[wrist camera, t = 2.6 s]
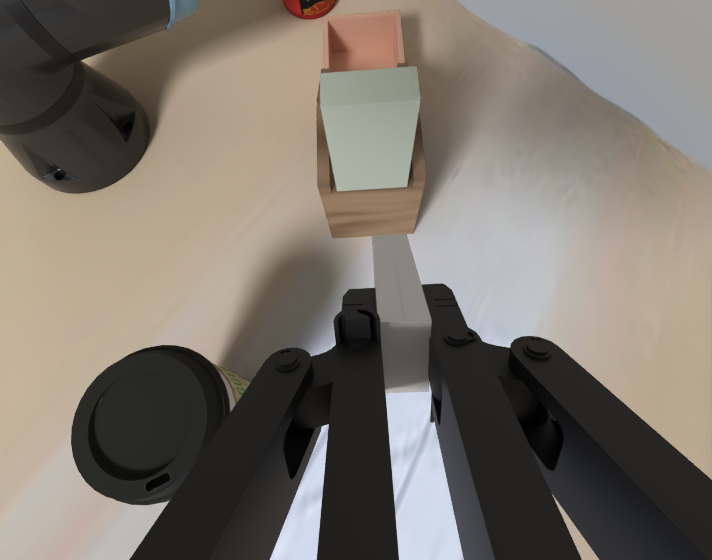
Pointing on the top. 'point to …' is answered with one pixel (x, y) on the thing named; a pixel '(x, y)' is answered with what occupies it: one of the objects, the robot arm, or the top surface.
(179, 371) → the coffee cup
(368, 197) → the launcher
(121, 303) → the top surface
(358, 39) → the pink open box
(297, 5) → the canned food
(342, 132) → the pale green block
